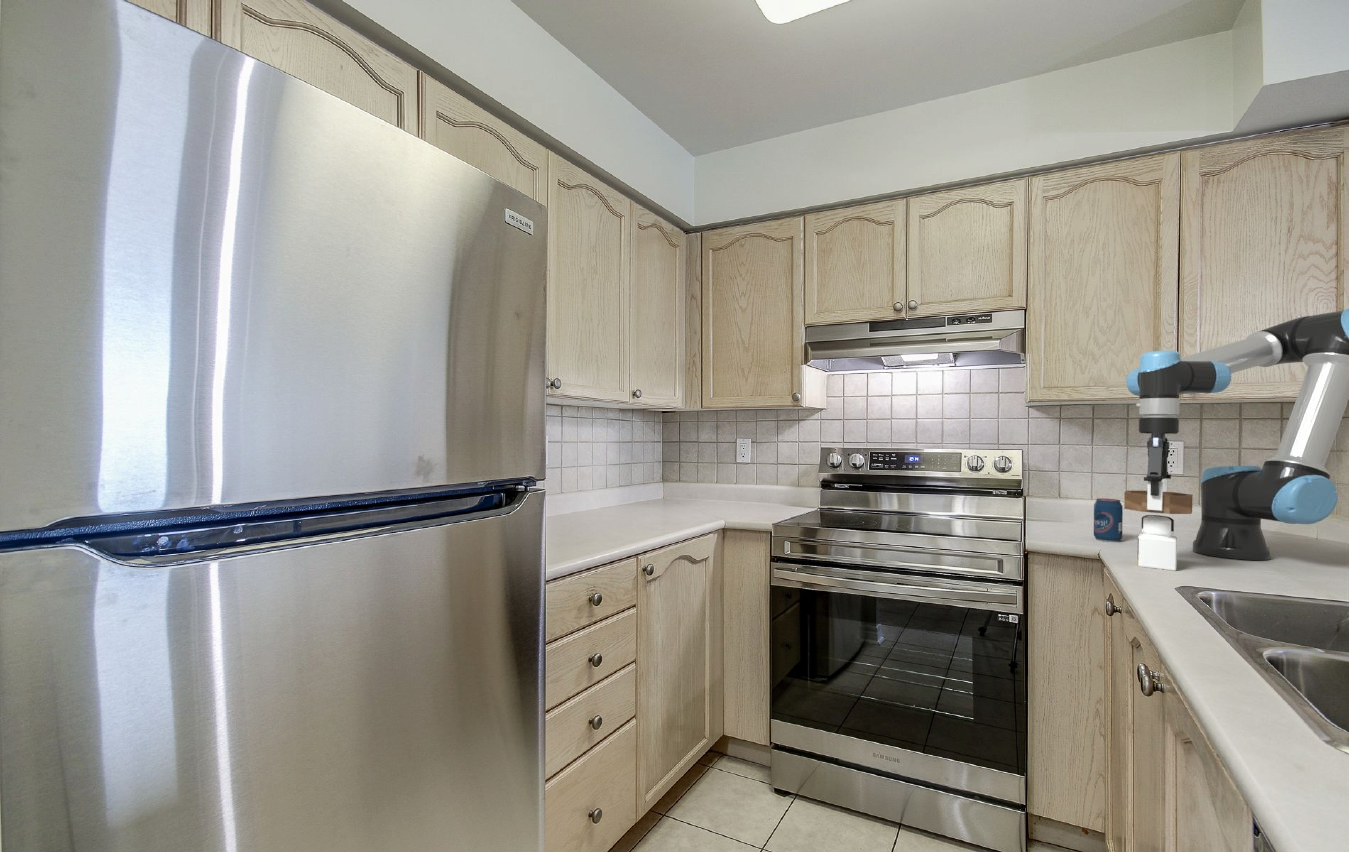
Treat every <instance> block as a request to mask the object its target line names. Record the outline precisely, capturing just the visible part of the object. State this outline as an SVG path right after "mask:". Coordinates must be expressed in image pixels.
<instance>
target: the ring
mask: <svg viewBox="0 0 1349 852" xmlns="http://www.w3.org/2000/svg"><path fill="white" fill-rule="evenodd" d="M1123 502H1124V504H1123V505H1124V506H1123V507H1124V508H1123V509H1124V510H1130V511H1134V512H1135V511H1136V512H1142V513H1152V514H1154V513H1155V514H1164V515H1165V514H1166V515H1180V514H1181V515H1191V514H1192V513H1193V494H1190V493H1182V492H1175V491H1167V492H1163V499H1162V511H1160V510H1147V490H1126V491H1124V501H1123Z"/></svg>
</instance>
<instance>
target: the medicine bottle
mask: <svg viewBox="0 0 1349 852" xmlns="http://www.w3.org/2000/svg"><path fill="white" fill-rule="evenodd" d="M1174 534H1175V520H1174V519H1173V518H1172V517H1170V516H1167V515H1160V514H1159V515H1158V514H1146V515H1143V516H1142V517H1141V532H1140V533H1139V535H1138V537H1137V567H1138V568H1146V569H1154V568H1157V569H1156V570H1162V569H1164V571H1170V570H1171V571H1172V572H1176V571H1177V568H1178V567H1177V566H1178V537H1177V536H1176V535H1174Z"/></svg>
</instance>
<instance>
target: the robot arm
mask: <svg viewBox="0 0 1349 852" xmlns="http://www.w3.org/2000/svg"><path fill="white" fill-rule="evenodd" d="M1293 363H1296V364H1297V363H1304V364H1305V366H1306V367H1307V370H1306V373H1305V376H1304V378H1303V381H1302V383H1301V386H1300V389H1299V392H1298V394H1297V397H1296V399H1295V403H1294V405H1293V408H1292V410H1291V413H1290V416H1289V419H1288V421H1287V423H1286V424H1287V425H1285V429H1284V432H1283V435H1282V438H1281V441H1280V442H1279V446H1278V447H1277V451H1276V454H1275V456H1274V457H1270V458H1268V459H1264V462H1263V464H1262V467H1260V466H1259V465H1232V466H1231V465H1228V466H1227V465H1225V466H1224V465H1223V466H1212V467H1211V466H1210V467H1208V468H1205V469H1204V470H1203V472H1202V473H1201V475H1202V476H1201V481H1200V485H1201V486H1200V487H1201V488H1200V490H1201V491H1200V495H1201V497H1200V498H1201V501H1200V502H1201V503H1200V505H1201V509H1200V510H1201V512H1200V513H1201V519H1200V521H1201V523H1200V525H1199V528H1198V531H1197V533H1196V537H1195V539H1194V540H1193V541H1192V551H1193V552H1194V553H1197V554H1200V555H1201V554H1202V555H1206V556H1211V557H1216V558H1217V557H1218V558H1224V559H1232V560H1233V559H1235V560H1245V561H1249V560H1250V561H1267V560H1270V559H1271V550H1270V548H1269V547H1268V546H1267V542H1266V538H1265V536H1264V533H1263V530H1262V526H1261V521H1262V520H1267V521H1273V522H1280V523H1285V524H1289V525H1296V524H1298V525H1313V524H1316V523H1319V522H1321V521H1324V520H1325V519H1326V518H1328V517H1329V516H1330V515H1331V514H1332V513H1333V512H1334V510H1335V508H1336V506H1337V503H1338V498H1339V494H1338V493H1337V492H1336V491H1337V487H1336V485H1335V483H1334V482H1332V481H1331V480H1330V478H1331V473H1330V472H1329V471H1328V470H1327V468H1326V467H1325V464H1326V463H1327V460H1328V456H1329V455H1330V452H1331V449H1332V446H1333V443H1334V441H1335V438H1336V435H1337V432H1338V430H1339V427H1340V424H1341V422H1342V418H1343V417H1344V413H1345V410H1346V408H1347V406H1348V402H1349V308H1346V309H1344V310H1338V311H1333V312H1326V313H1320V314H1313V315H1305V316H1300V317H1297V318H1294V319H1290V320H1288V321H1285V322H1281V323H1279V324H1275V325H1273V326H1270V327H1268V328H1265V329H1262V330H1258V331H1255V332H1252V333H1251V334H1248V336H1247V337H1246V338H1244V339H1241V340H1238V341H1234V342H1230V343H1228V344H1225V345H1220V346H1218V347H1214V348H1211V349H1207V350H1203V351H1199V352H1196V353H1194V354H1190V355H1186V356H1183V357H1180V352H1178V351H1176V350H1158V351H1157V350H1155V351H1148V352H1144V353H1143V354H1141V356H1140V360H1139V367H1138V368H1135V369H1133V370H1131V371H1130V372H1129V373H1128V375H1127V377H1126V380H1125V383H1126V387H1127V390H1128V391H1129V393H1131V394H1132V395H1134V396H1137V397H1139V402H1137V403H1136V404H1135V407H1137V408H1139V409H1138V410H1139V411H1138V413H1139V416H1141V417H1139V419H1138V432H1139V433H1140V434H1150V435H1151V436H1150V437H1149V438H1148V439H1147V440H1148V441H1147V442H1146V447H1147V458H1148V459H1147V473H1146V476H1143V480H1144V481H1145V482H1147V490H1146V491H1147V510H1160V511H1162V499H1163V492H1168V480H1171V479H1172V474H1169V471H1168V470H1169V469H1168V458H1169V450H1170V441H1169V439H1168V438H1167V437H1166V434H1167V435H1169V434H1171V435H1175V434H1178V433H1179V432H1180V419H1179V418H1178V417H1177V416H1180V400H1181V399H1180V395H1184V394H1185V395H1186V394H1204V395H1207V394H1219V393H1221V392H1223V391H1225V390H1226V389H1227V388H1228V387H1229V386H1230V384H1231V382H1232V374H1234V373H1238V372H1241V371H1244V370H1249V369H1251V368H1255V367H1261V368H1269V367H1273V366H1275V365H1282V364H1293ZM1144 481H1143V482H1144Z"/></svg>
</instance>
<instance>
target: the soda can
mask: <svg viewBox="0 0 1349 852" xmlns="http://www.w3.org/2000/svg"><path fill="white" fill-rule="evenodd" d="M1123 507H1124V506H1123V505H1122V503H1121V500H1120V499H1115V498H1104V497H1103V498H1099V497H1098V498H1096V500H1095V502H1094V504H1093V536H1094V538H1095V539H1096V540H1097V541H1100V542H1107V543H1120V541H1121V540H1122V539H1123V515H1124V514H1123V509H1124V508H1123Z"/></svg>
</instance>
